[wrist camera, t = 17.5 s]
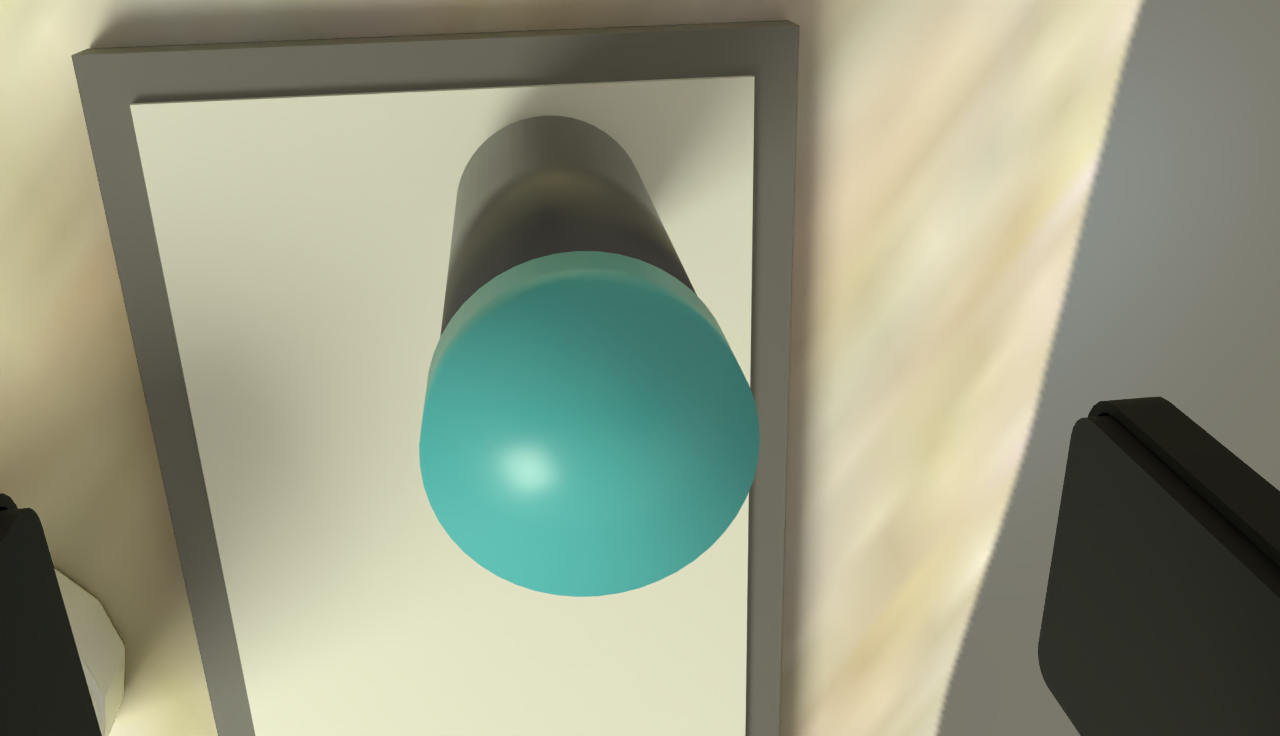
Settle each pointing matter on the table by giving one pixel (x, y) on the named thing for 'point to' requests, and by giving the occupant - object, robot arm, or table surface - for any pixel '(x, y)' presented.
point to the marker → (578, 376)
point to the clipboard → (427, 367)
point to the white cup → (96, 650)
